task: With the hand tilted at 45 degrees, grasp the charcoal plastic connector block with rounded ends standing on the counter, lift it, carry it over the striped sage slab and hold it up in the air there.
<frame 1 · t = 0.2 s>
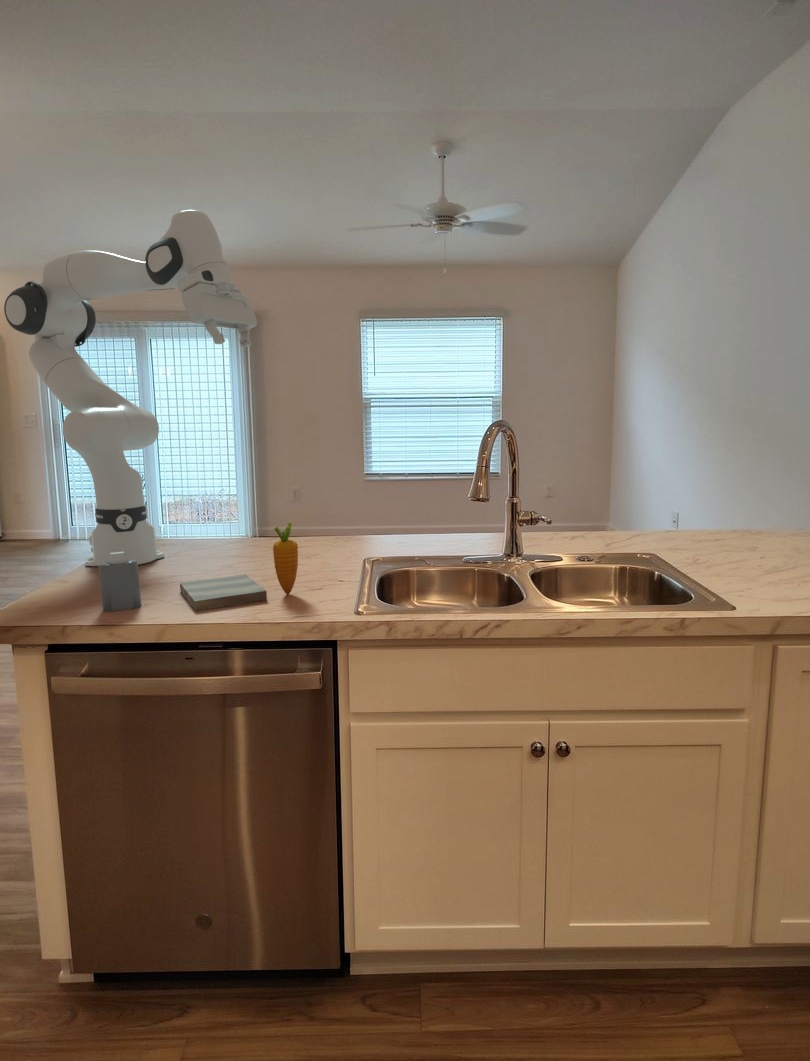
hand: (233, 344, 148), 52 cm above the countertop, tool tilted 20°, fingers open, 8 cm apart
connector block: (122, 607, 131), on the countertop
carrot: (287, 595, 138), on the countertop
striped sage slab: (222, 596, 138), on the countertop
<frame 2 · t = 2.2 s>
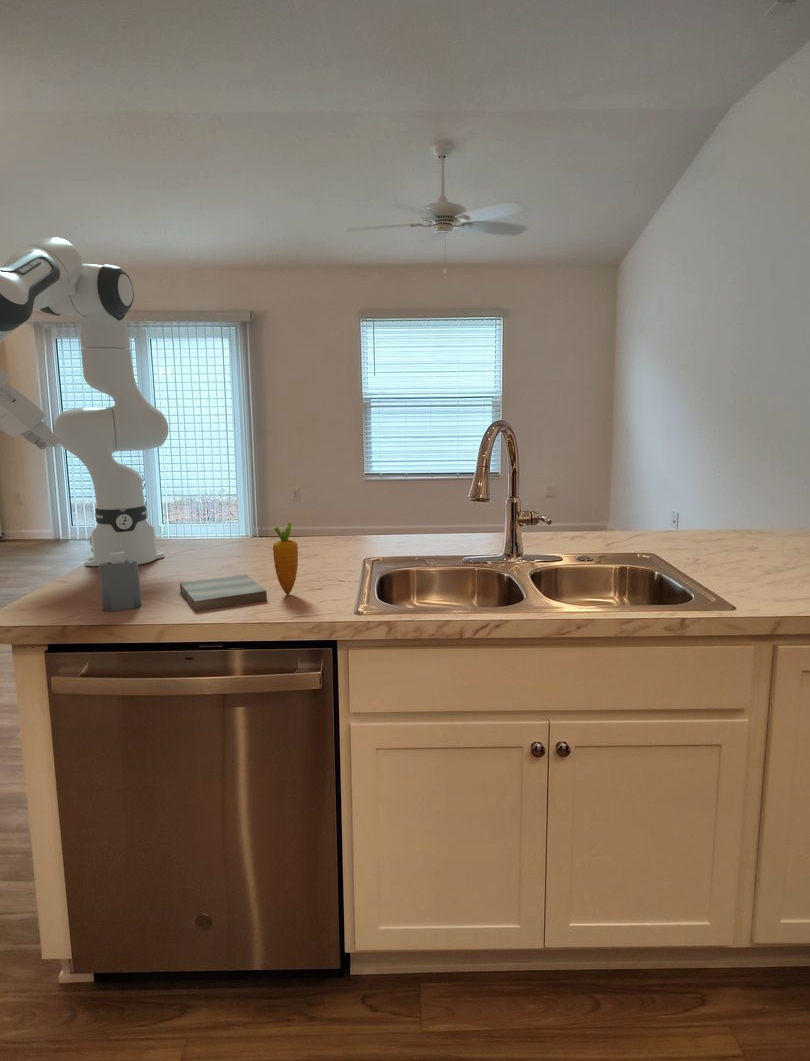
hand: (51, 445, 120), 32 cm above the countertop, tool tilted 40°, fingers open, 8 cm apart
nothing on the countertop moved.
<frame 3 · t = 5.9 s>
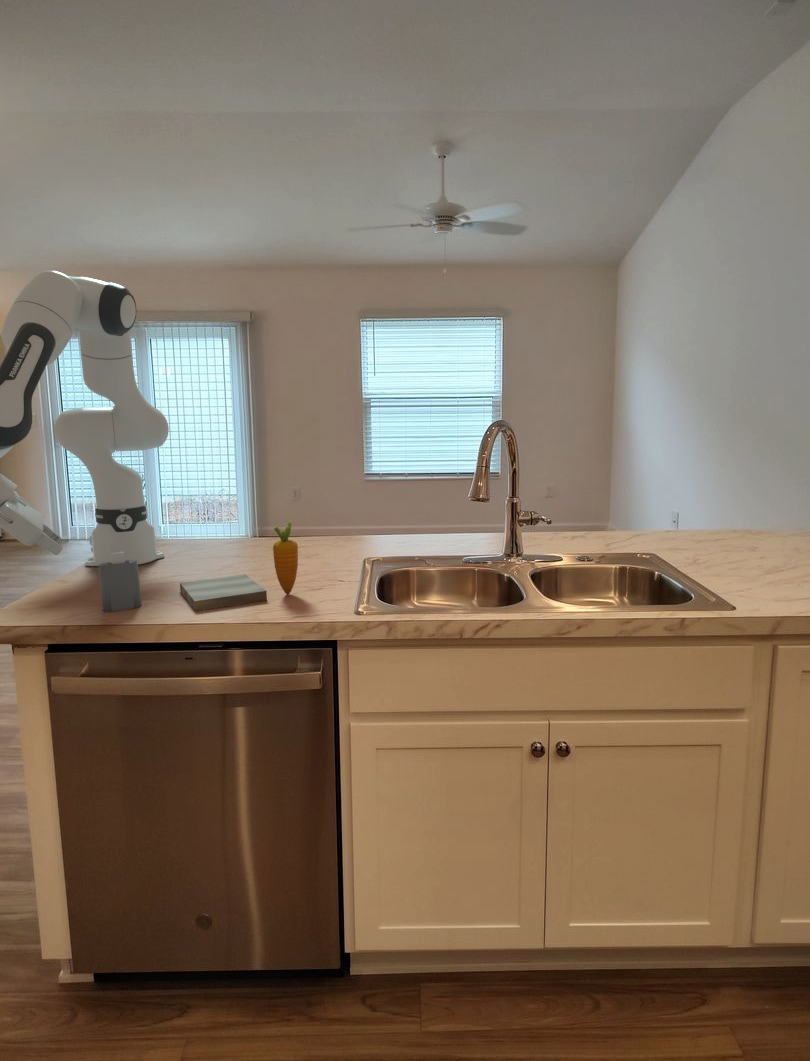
hand: (59, 546, 124), 13 cm above the countertop, tool tilted 45°, fingers open, 8 cm apart
nothing on the countertop moved.
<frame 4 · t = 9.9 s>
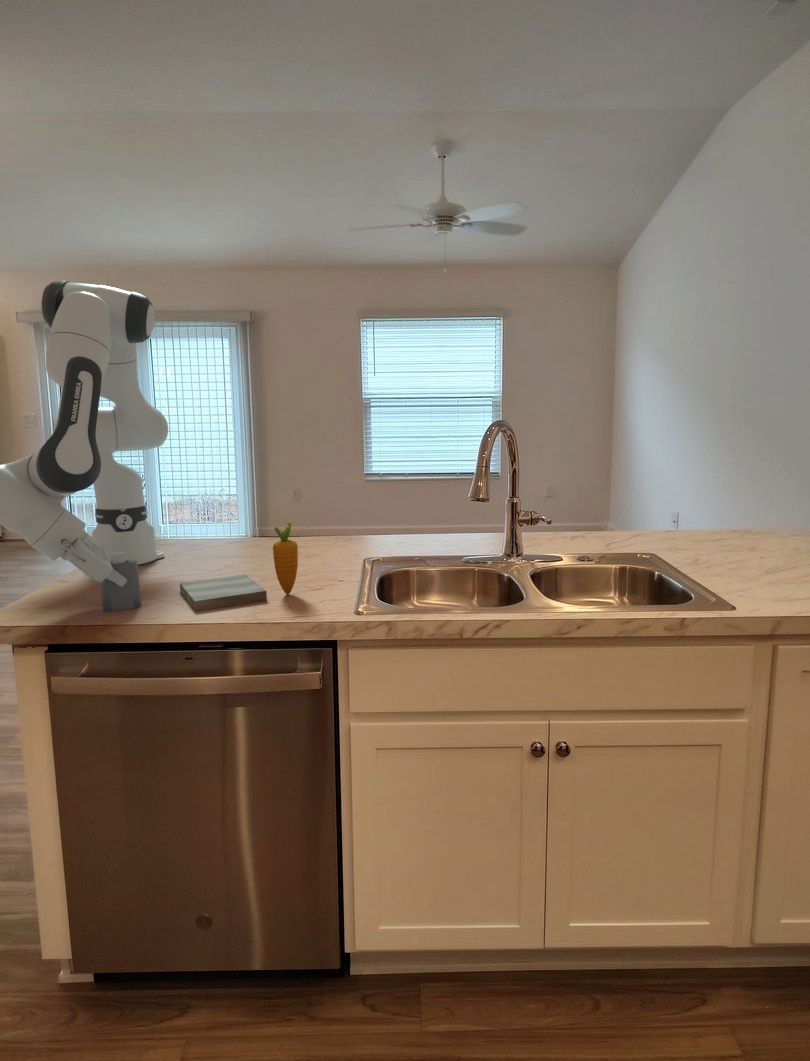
hand: (123, 580, 130), 5 cm above the countertop, tool tilted 45°, fingers closed on connector block, 3 cm apart
connector block: (122, 607, 131), on the countertop, touching gripper
everything else where it was.
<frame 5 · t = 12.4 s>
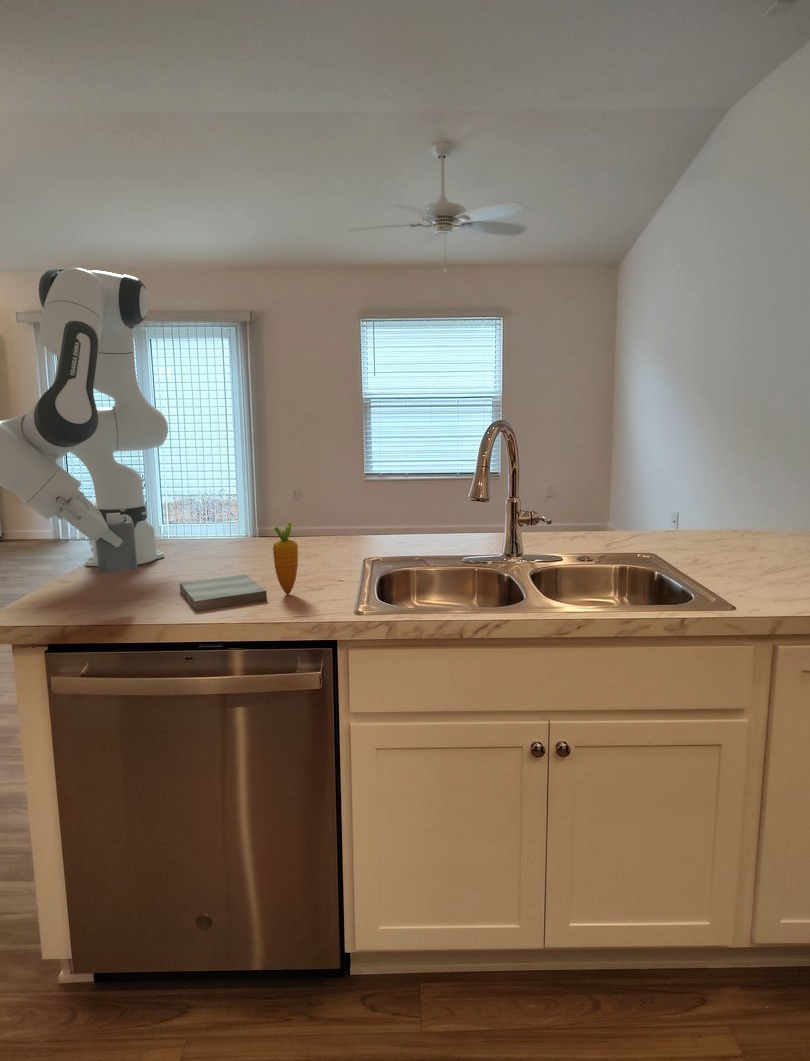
hand: (119, 541, 129), 13 cm above the countertop, tool tilted 45°, fingers closed on connector block, 3 cm apart
connector block: (118, 569, 130), point 8 cm above the countertop, touching gripper
everything else where it was.
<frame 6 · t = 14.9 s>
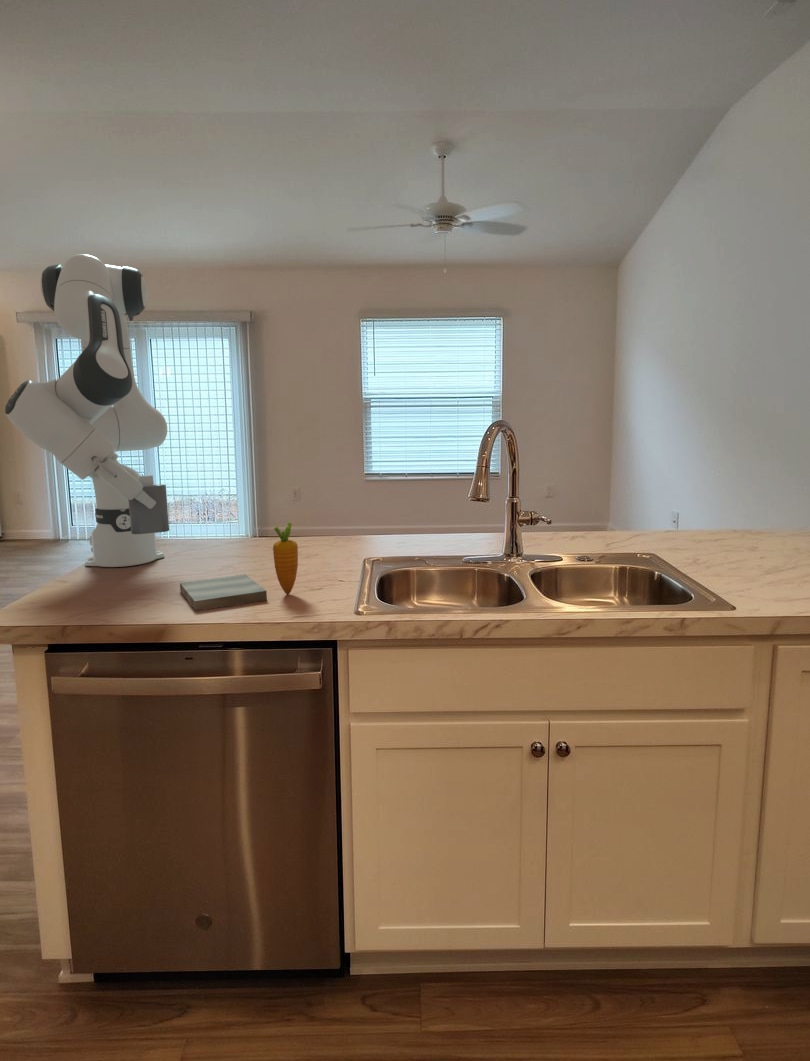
hand: (151, 504, 130), 20 cm above the countertop, tool tilted 45°, fingers closed on connector block, 3 cm apart
connector block: (150, 531, 131), point 15 cm above the countertop, touching gripper
everything else where it was.
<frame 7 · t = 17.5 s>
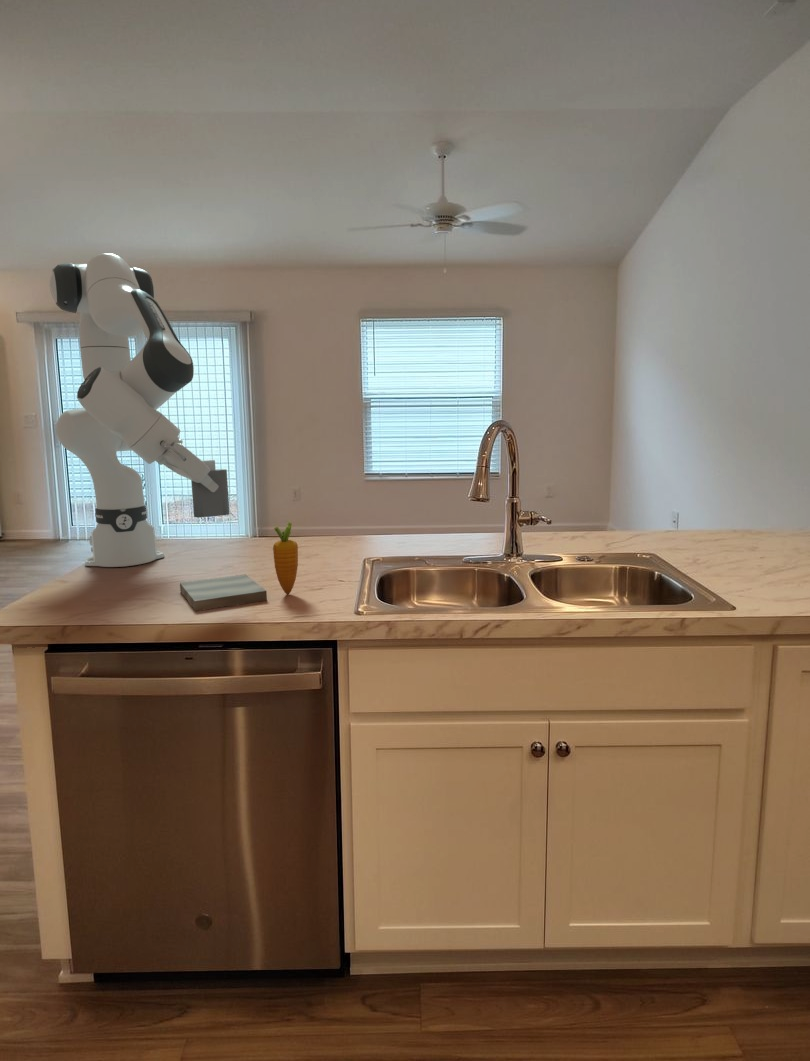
hand: (213, 488, 134), 22 cm above the countertop, tool tilted 45°, fingers closed on connector block, 3 cm apart
connector block: (211, 515, 135), point 17 cm above the countertop, touching gripper
everything else where it was.
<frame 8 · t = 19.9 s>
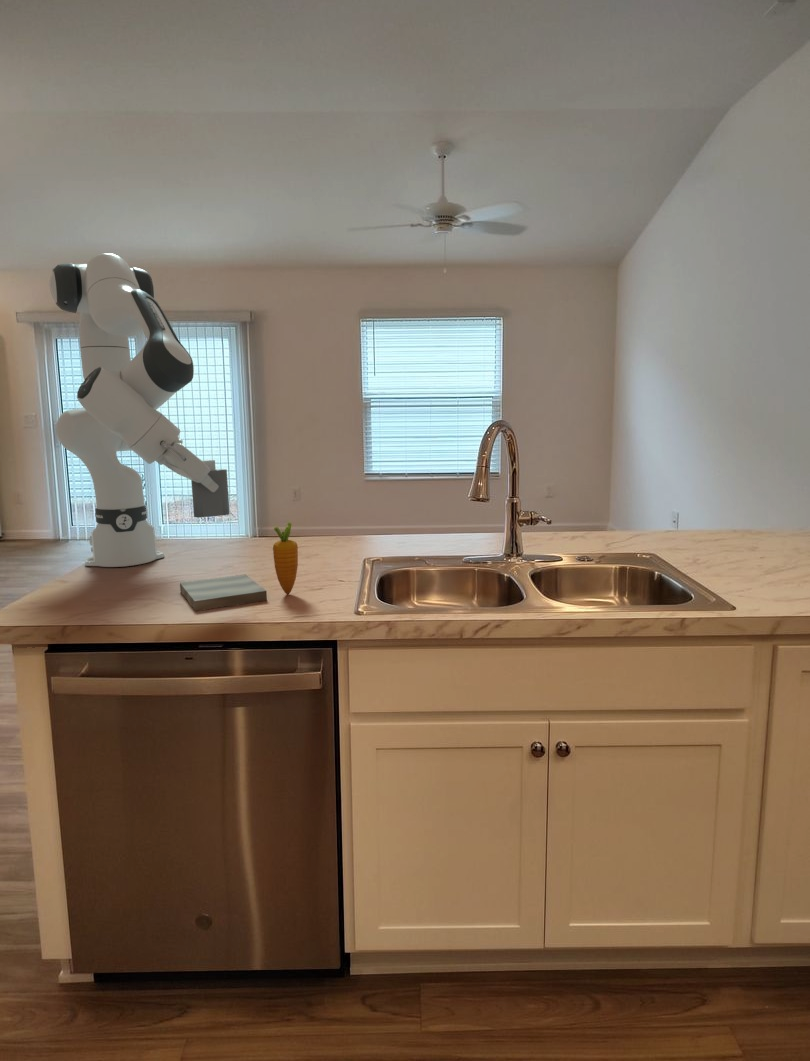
hand: (213, 488, 134), 22 cm above the countertop, tool tilted 45°, fingers closed on connector block, 3 cm apart
connector block: (212, 515, 135), point 17 cm above the countertop, touching gripper
everything else where it was.
at the end: the gripper is holding connector block; connector block inside the target area (0.0 cm from its centre), point 17.0 cm above the countertop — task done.
